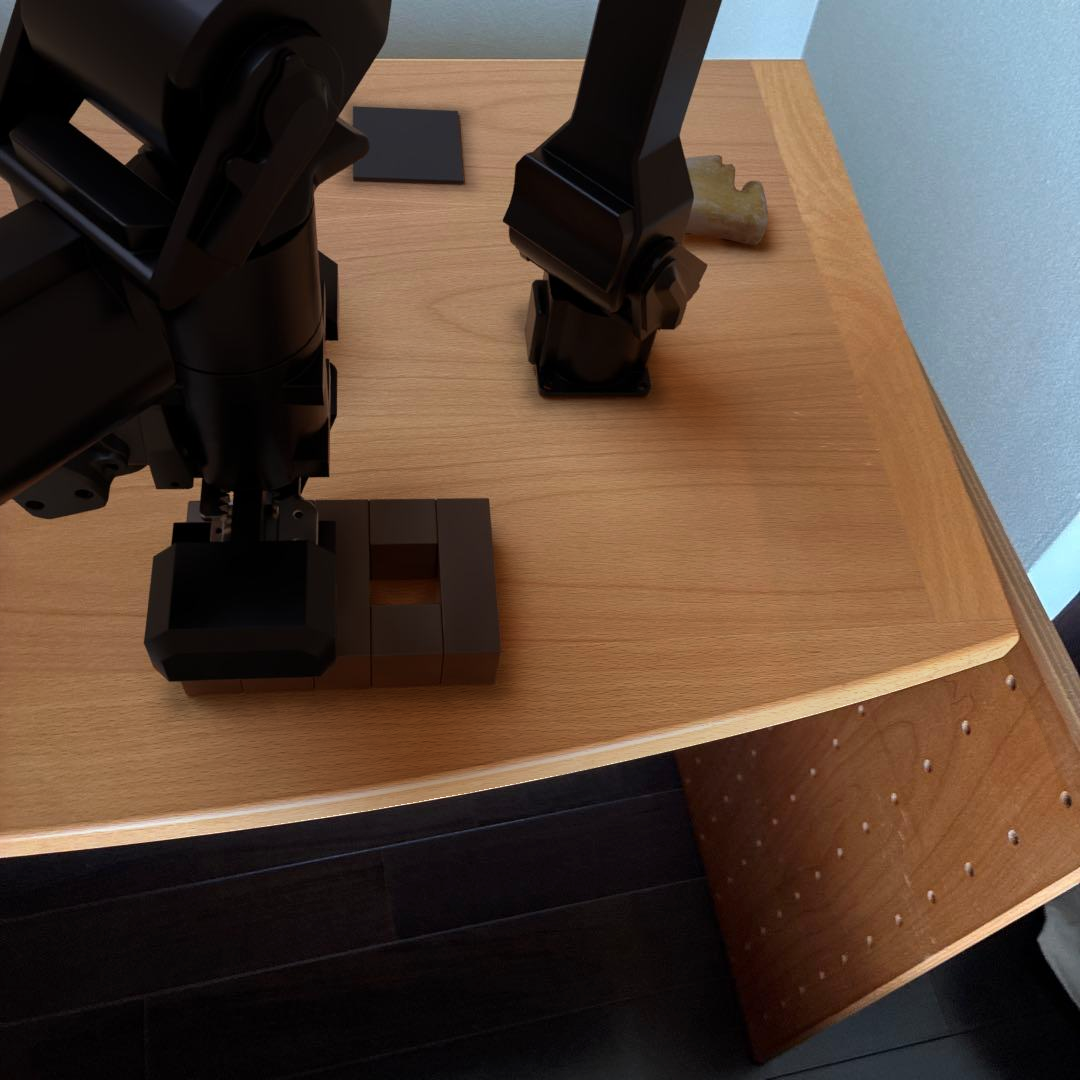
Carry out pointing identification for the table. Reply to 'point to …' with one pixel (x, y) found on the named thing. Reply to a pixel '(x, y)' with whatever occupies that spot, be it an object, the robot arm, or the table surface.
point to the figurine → (725, 202)
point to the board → (406, 629)
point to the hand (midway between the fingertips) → (273, 557)
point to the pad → (409, 145)
